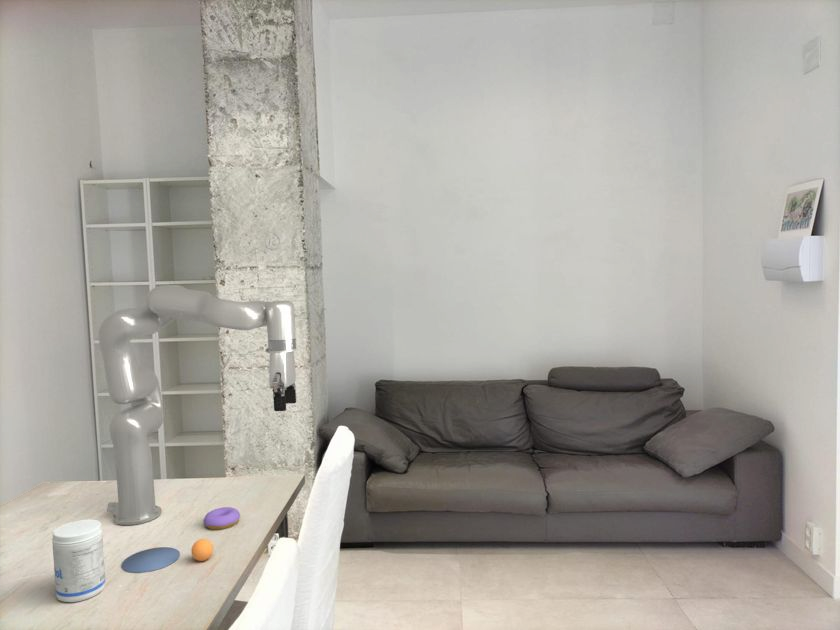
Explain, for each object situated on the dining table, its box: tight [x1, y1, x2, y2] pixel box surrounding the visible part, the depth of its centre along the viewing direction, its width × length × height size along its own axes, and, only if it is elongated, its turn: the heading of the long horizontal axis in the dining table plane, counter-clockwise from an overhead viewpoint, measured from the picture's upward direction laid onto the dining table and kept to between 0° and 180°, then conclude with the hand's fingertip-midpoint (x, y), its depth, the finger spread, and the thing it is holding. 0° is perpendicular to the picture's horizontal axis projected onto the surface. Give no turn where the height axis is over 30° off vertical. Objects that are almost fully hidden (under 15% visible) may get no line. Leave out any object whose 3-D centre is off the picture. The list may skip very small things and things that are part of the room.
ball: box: [190, 538, 214, 562], centre depth 150 cm, size 5×5×5 cm
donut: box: [203, 506, 241, 531], centre depth 172 cm, size 10×9×5 cm
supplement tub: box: [51, 519, 106, 603], centre depth 136 cm, size 10×10×15 cm
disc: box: [121, 546, 181, 574], centre depth 151 cm, size 13×13×1 cm
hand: (285, 406), depth 173 cm, fingers open, 9 cm apart
